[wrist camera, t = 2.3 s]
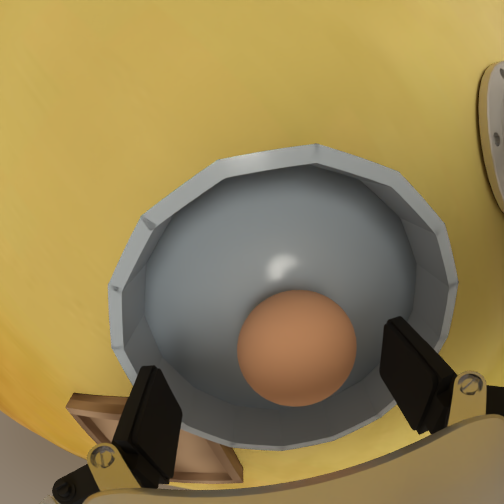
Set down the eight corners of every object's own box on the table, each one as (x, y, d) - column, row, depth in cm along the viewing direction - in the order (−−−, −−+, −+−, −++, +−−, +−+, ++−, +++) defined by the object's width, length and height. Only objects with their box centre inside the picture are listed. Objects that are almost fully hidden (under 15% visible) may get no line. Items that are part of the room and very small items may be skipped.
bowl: (409, 139, 11) (459, 137, 8) (401, 372, 16) (424, 409, 13) (105, 192, 12) (58, 206, 8) (190, 412, 17) (182, 456, 13)
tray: (206, 395, 16) (203, 415, 15) (243, 468, 20) (243, 482, 18) (73, 392, 17) (65, 407, 15) (134, 464, 21) (131, 476, 19)
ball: (334, 261, 12) (379, 318, 8) (338, 345, 14) (368, 412, 9) (228, 281, 13) (219, 350, 8) (248, 362, 14) (250, 436, 9)
